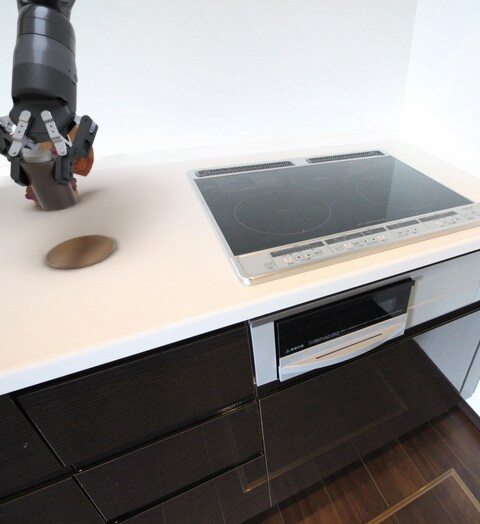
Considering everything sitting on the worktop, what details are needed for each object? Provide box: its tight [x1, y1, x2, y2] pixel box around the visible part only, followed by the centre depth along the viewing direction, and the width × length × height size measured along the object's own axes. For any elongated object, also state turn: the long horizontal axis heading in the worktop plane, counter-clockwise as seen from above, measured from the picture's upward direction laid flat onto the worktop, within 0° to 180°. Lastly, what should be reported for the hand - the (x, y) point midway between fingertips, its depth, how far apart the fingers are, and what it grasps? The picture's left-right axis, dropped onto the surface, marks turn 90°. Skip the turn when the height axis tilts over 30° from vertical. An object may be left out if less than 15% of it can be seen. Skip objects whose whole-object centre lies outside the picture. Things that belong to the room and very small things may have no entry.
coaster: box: [45, 234, 115, 270], centre depth 62 cm, size 10×10×1 cm
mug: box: [6, 126, 95, 207], centre depth 73 cm, size 15×8×15 cm, turn 148°
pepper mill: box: [20, 149, 78, 211], centre depth 54 cm, size 5×5×8 cm
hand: (42, 183), depth 52 cm, fingers closed on pepper mill, 4 cm apart
